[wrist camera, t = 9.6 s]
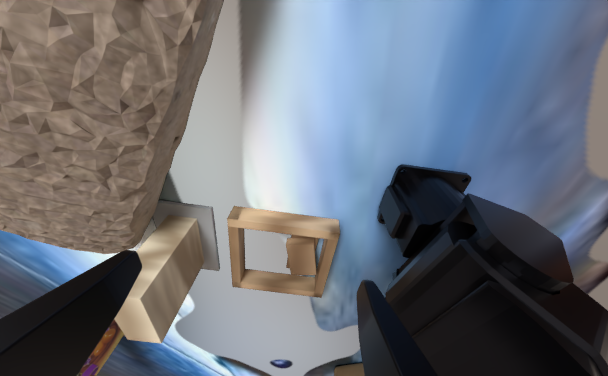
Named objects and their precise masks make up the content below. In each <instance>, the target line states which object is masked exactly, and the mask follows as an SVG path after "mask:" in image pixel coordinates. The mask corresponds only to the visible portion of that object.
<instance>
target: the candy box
mask: <svg viewBox="0 0 608 376" xmlns="http://www.w3.org/2000/svg"><path fill="white" fill-rule="evenodd" d="M123 335H124V333H123V332H122V330H121V329H120V327H119V325H118V324H117V322H116V321H115V319H114V320H113V322H112V323H111V325H110V326H109V328H108V329H107V331H106V332H105V334H104V335H103V337H102V338H101V340H100V341H99V343H98V345H97V346H96V348H95V349H94V351H93V352H92V354H91V355H90V357H89V358H88V360H87V361H86V363H85V364H84V366H83V367H82V369H81V370H80V372H79V374H78V375H77V376H96V375H97V374H98V372H99V371H100V369H101V368H102V366H103V365H104V363H105V362H106V360H107V359H108V357H109V356H110V355H111V353H112V352H113V350H114V349H115V347H116V346H117V344H118V343H119V341H120V340H121V338H122V337H123Z"/></svg>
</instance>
